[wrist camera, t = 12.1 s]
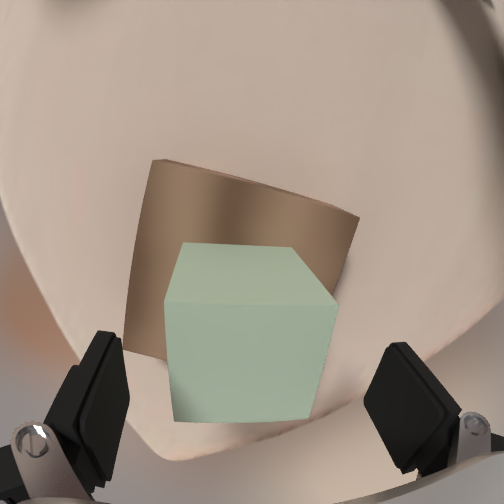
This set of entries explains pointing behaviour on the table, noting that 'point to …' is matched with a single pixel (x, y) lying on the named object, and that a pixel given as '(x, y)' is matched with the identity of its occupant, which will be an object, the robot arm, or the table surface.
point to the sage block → (245, 334)
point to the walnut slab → (220, 236)
